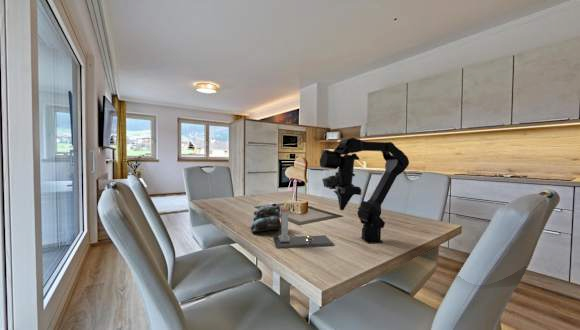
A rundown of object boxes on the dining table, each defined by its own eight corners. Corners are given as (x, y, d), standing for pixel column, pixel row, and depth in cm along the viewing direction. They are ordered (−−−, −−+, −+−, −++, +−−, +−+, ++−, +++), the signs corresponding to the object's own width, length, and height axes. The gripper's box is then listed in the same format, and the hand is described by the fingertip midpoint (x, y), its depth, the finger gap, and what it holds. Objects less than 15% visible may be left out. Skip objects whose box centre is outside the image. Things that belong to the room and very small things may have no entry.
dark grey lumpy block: (244, 233, 102) (245, 202, 109) (260, 237, 112) (260, 208, 118) (273, 227, 96) (272, 195, 103) (287, 232, 106) (286, 202, 112)
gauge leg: (288, 237, 94) (288, 207, 94) (290, 241, 89) (290, 209, 89) (278, 238, 93) (279, 207, 93) (279, 242, 89) (280, 210, 88)
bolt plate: (325, 237, 99) (325, 231, 99) (332, 245, 90) (332, 238, 90) (273, 239, 95) (273, 233, 95) (275, 248, 86) (275, 241, 86)
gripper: (319, 167, 100) (315, 204, 99) (333, 168, 81) (329, 213, 81) (344, 170, 101) (340, 206, 101) (364, 171, 83) (359, 215, 82)
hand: (341, 210), depth 91 cm, fingers closed
